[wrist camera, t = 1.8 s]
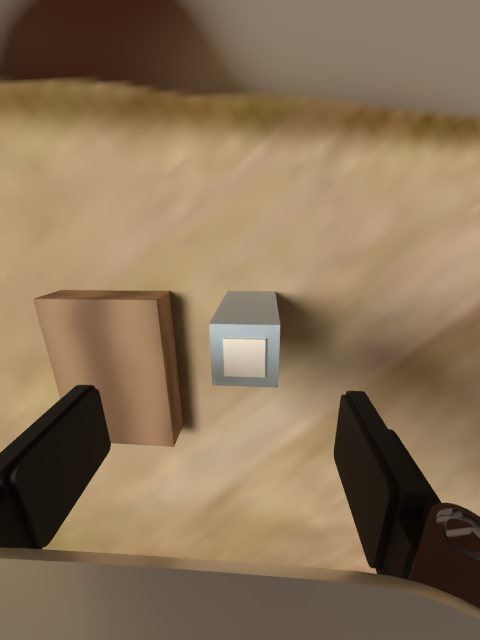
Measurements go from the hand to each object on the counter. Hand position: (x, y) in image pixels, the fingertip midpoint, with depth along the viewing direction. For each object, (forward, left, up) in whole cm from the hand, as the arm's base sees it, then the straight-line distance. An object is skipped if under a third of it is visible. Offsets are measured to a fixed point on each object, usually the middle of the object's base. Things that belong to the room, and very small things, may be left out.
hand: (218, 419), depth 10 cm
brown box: (+11, +5, -14) cm, 19 cm away
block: (-1, 0, -14) cm, 14 cm away
